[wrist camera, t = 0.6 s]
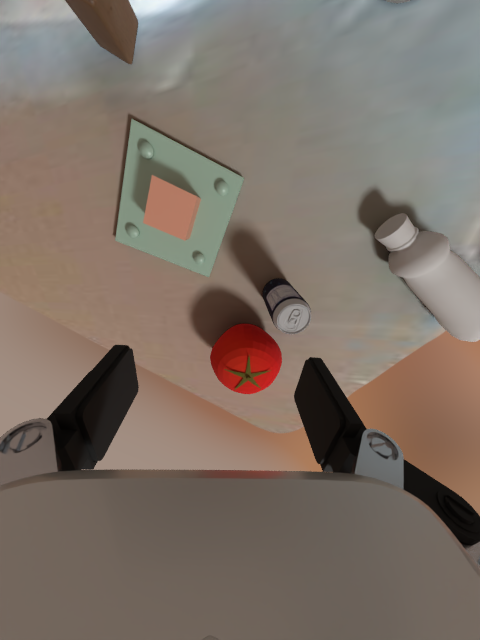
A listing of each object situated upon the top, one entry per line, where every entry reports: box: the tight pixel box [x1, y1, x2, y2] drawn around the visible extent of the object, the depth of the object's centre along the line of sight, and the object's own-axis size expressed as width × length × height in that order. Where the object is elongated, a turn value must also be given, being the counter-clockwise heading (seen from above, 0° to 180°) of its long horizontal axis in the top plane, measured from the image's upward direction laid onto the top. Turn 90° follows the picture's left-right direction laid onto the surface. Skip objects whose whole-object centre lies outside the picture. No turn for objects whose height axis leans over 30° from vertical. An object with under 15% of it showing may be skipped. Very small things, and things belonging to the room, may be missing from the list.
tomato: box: [210, 324, 282, 394], centre depth 39 cm, size 13×14×12 cm
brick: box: [143, 175, 201, 241], centre depth 29 cm, size 6×6×4 cm
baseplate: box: [115, 119, 244, 277], centre depth 31 cm, size 16×16×2 cm
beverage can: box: [263, 278, 311, 334], centre depth 33 cm, size 6×6×12 cm
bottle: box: [375, 213, 480, 342], centre depth 35 cm, size 9×9×30 cm
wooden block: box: [65, 0, 138, 64], centre depth 20 cm, size 4×4×8 cm
